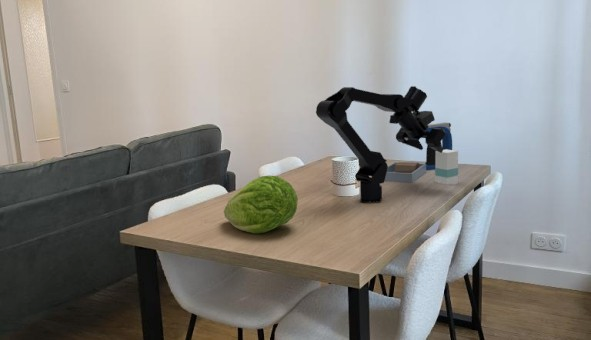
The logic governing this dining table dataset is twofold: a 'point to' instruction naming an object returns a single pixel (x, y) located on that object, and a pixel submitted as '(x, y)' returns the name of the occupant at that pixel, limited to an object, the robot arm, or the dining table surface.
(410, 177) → the tote
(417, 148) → the robot arm
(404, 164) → the walnut block
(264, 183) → the lettuce
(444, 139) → the handheld scanner
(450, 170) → the carton
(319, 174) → the dining table surface
